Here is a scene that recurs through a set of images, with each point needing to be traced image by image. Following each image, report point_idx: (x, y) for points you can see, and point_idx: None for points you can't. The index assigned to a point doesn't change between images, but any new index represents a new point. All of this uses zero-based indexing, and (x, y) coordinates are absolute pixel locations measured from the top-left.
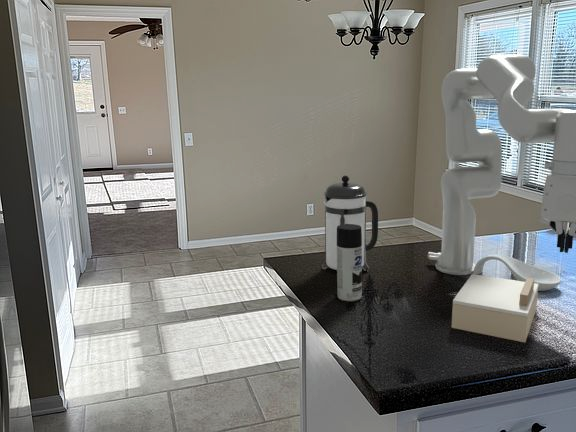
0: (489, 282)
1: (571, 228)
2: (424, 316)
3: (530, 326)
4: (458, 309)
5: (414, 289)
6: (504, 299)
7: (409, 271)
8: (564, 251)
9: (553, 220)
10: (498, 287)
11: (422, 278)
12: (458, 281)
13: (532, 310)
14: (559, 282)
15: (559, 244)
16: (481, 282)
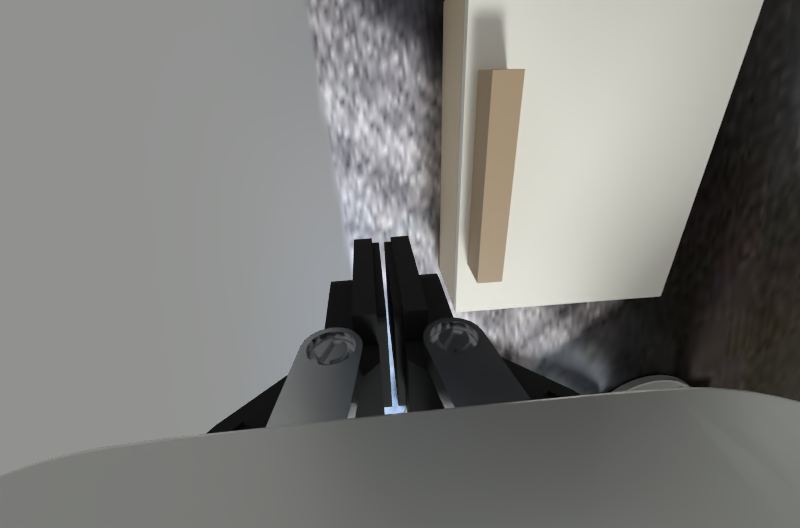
0: (608, 249)
1: (332, 385)
2: (757, 46)
3: (441, 139)
4: None
5: (763, 241)
6: (561, 101)
7: (761, 348)
8: (376, 243)
9: (615, 393)
10: (580, 217)
11: (730, 322)
12: (636, 345)
13: (450, 169)
14: (404, 412)
15: (421, 281)
16: (635, 236)
